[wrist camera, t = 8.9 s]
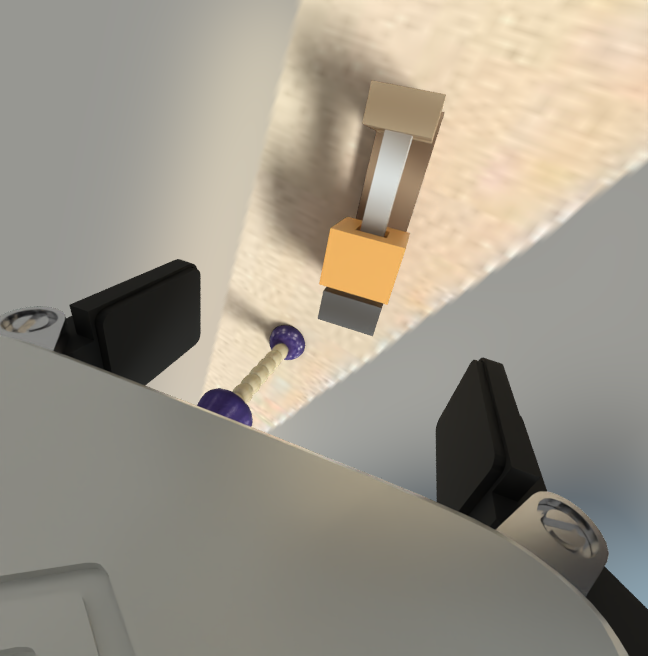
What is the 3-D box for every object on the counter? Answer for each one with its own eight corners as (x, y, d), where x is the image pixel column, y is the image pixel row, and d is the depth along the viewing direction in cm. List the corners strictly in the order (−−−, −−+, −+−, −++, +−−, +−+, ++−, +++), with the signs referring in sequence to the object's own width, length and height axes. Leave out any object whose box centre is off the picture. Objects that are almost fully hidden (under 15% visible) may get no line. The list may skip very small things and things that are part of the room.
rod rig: (386, 103, 25) (367, 79, 17) (443, 114, 24) (449, 95, 17) (342, 282, 32) (317, 318, 25) (385, 295, 31) (372, 336, 24)
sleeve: (347, 216, 25) (330, 228, 21) (409, 233, 25) (405, 248, 20) (336, 264, 27) (319, 284, 23) (394, 281, 27) (387, 304, 22)
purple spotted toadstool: (261, 339, 38) (161, 445, 24) (279, 312, 36) (180, 412, 22) (294, 363, 38) (214, 482, 24) (314, 338, 36) (239, 453, 22)
